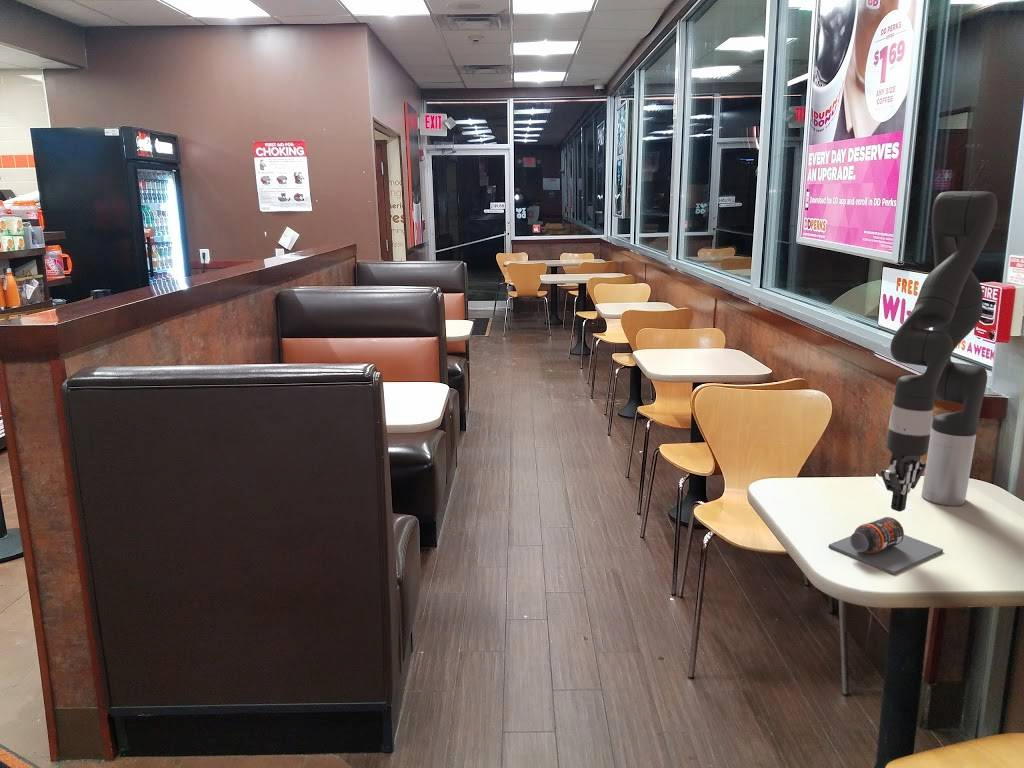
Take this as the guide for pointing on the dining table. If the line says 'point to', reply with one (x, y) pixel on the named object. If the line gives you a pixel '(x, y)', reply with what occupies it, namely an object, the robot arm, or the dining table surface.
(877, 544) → the supplement bottle
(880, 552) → the mat
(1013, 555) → the dining table surface
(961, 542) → the dining table surface
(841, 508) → the dining table surface
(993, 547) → the dining table surface
